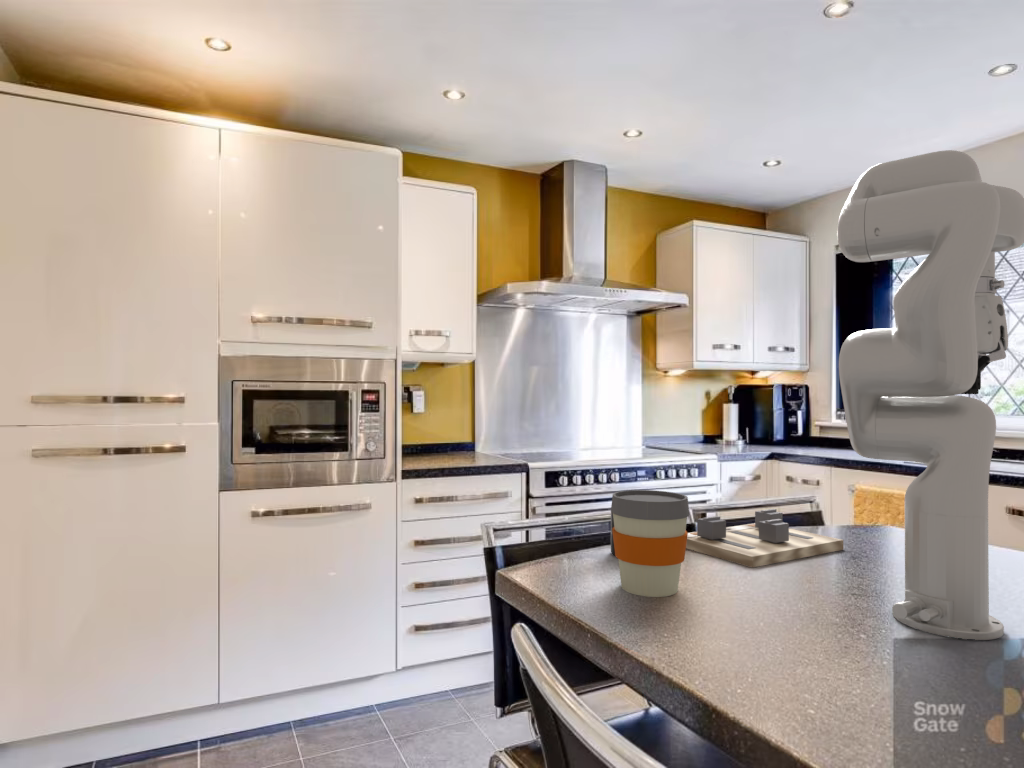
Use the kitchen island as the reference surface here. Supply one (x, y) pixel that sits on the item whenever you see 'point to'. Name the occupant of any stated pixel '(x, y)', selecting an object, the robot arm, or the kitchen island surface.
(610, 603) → the kitchen island surface
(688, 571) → the kitchen island surface
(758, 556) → the switch panel
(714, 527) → the switch tab
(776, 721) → the kitchen island surface
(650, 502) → the reusable coffee cup
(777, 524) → the switch tab
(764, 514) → the switch tab
